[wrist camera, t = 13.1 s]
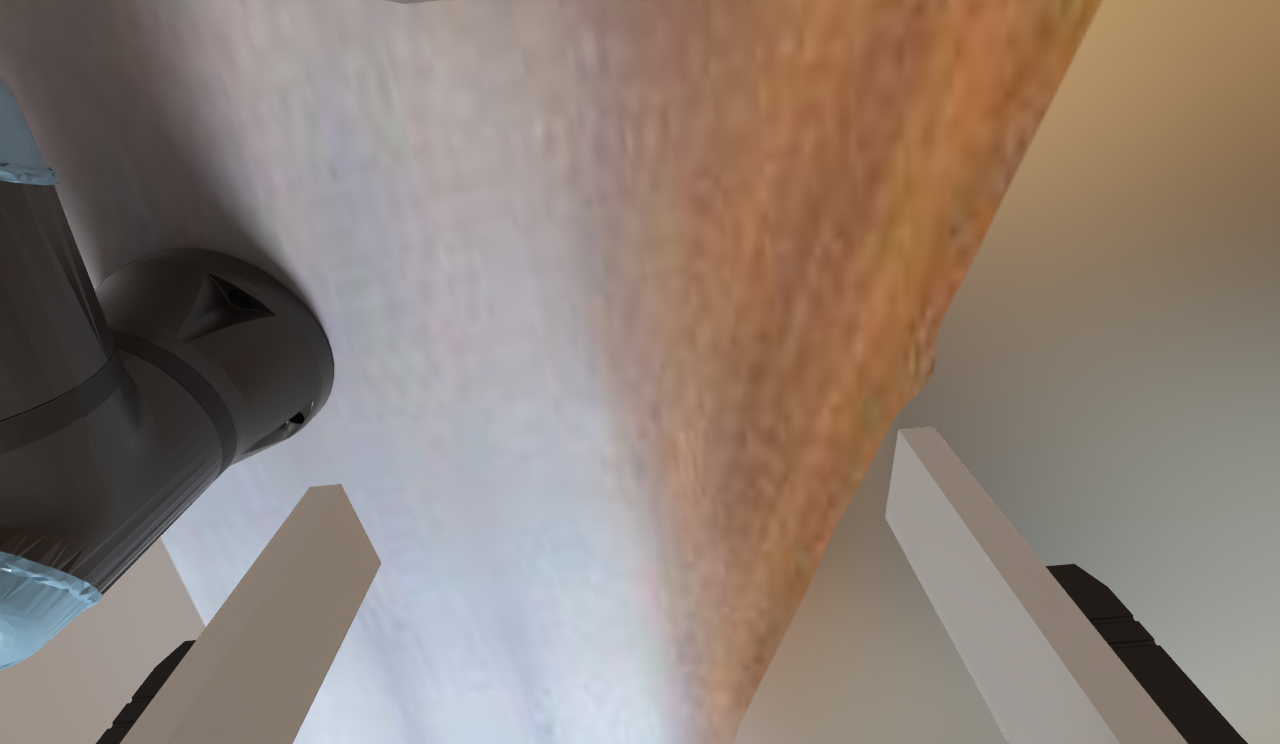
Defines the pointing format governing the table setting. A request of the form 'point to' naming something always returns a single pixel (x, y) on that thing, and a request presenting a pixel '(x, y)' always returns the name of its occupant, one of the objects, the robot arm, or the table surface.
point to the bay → (410, 1)
